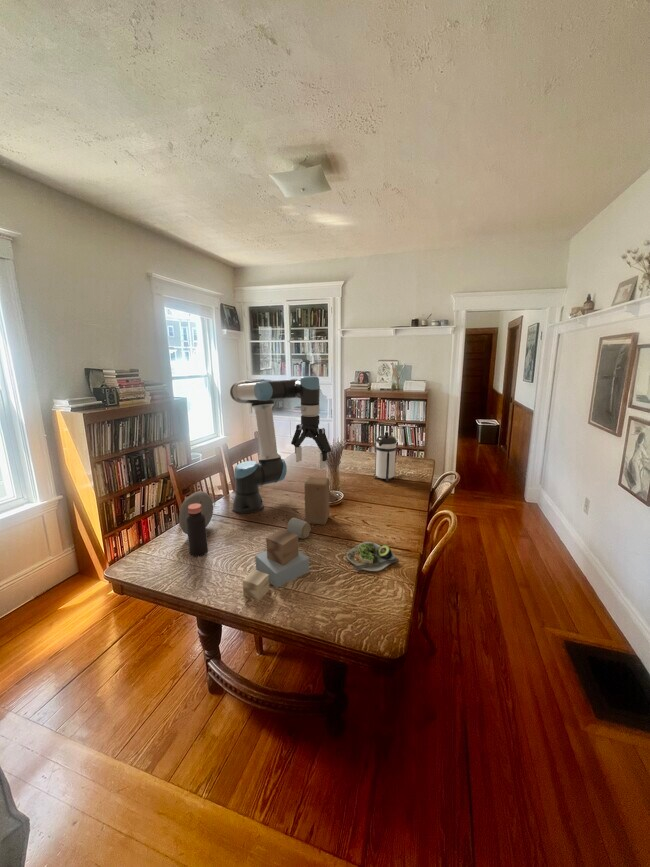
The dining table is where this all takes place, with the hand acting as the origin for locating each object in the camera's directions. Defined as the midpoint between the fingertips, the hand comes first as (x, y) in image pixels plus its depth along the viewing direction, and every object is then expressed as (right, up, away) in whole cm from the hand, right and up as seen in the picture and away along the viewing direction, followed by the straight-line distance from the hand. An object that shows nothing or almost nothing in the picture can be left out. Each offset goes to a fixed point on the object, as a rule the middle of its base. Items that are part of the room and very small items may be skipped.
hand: (310, 464), depth 143 cm
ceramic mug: (-5, -31, +6) cm, 32 cm away
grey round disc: (-50, -31, +7) cm, 59 cm away
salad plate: (+24, -36, -11) cm, 45 cm away
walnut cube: (-9, -31, -19) cm, 38 cm away
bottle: (-44, -34, -7) cm, 57 cm away
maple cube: (-17, -40, -30) cm, 52 cm away
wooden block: (+2, -28, +19) cm, 34 cm away
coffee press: (+44, -15, +74) cm, 88 cm away
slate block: (-10, -37, -18) cm, 42 cm away
